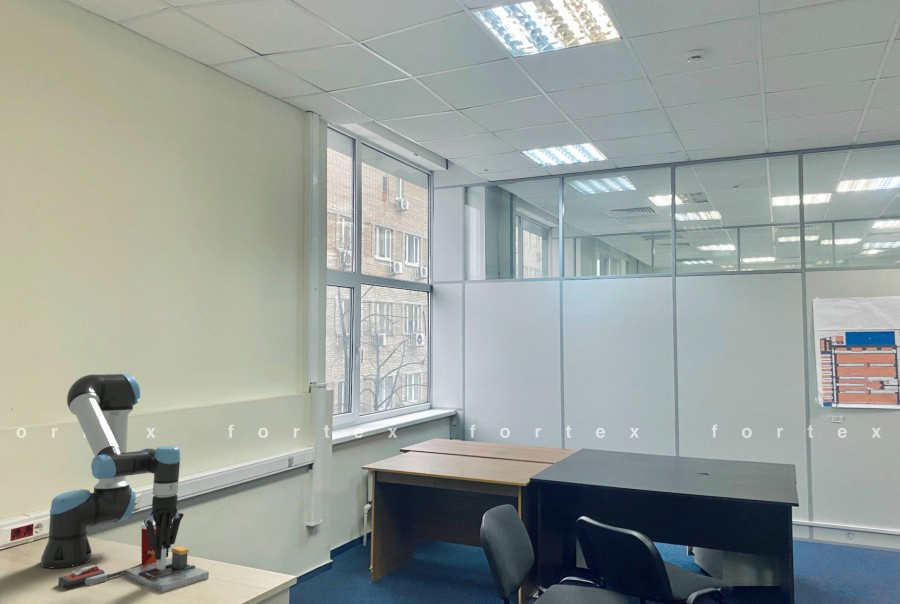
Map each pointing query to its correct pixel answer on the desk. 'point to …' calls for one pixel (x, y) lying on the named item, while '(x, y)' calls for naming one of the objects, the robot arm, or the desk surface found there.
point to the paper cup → (147, 547)
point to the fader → (179, 557)
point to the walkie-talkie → (85, 577)
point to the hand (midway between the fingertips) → (160, 568)
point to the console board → (166, 576)
